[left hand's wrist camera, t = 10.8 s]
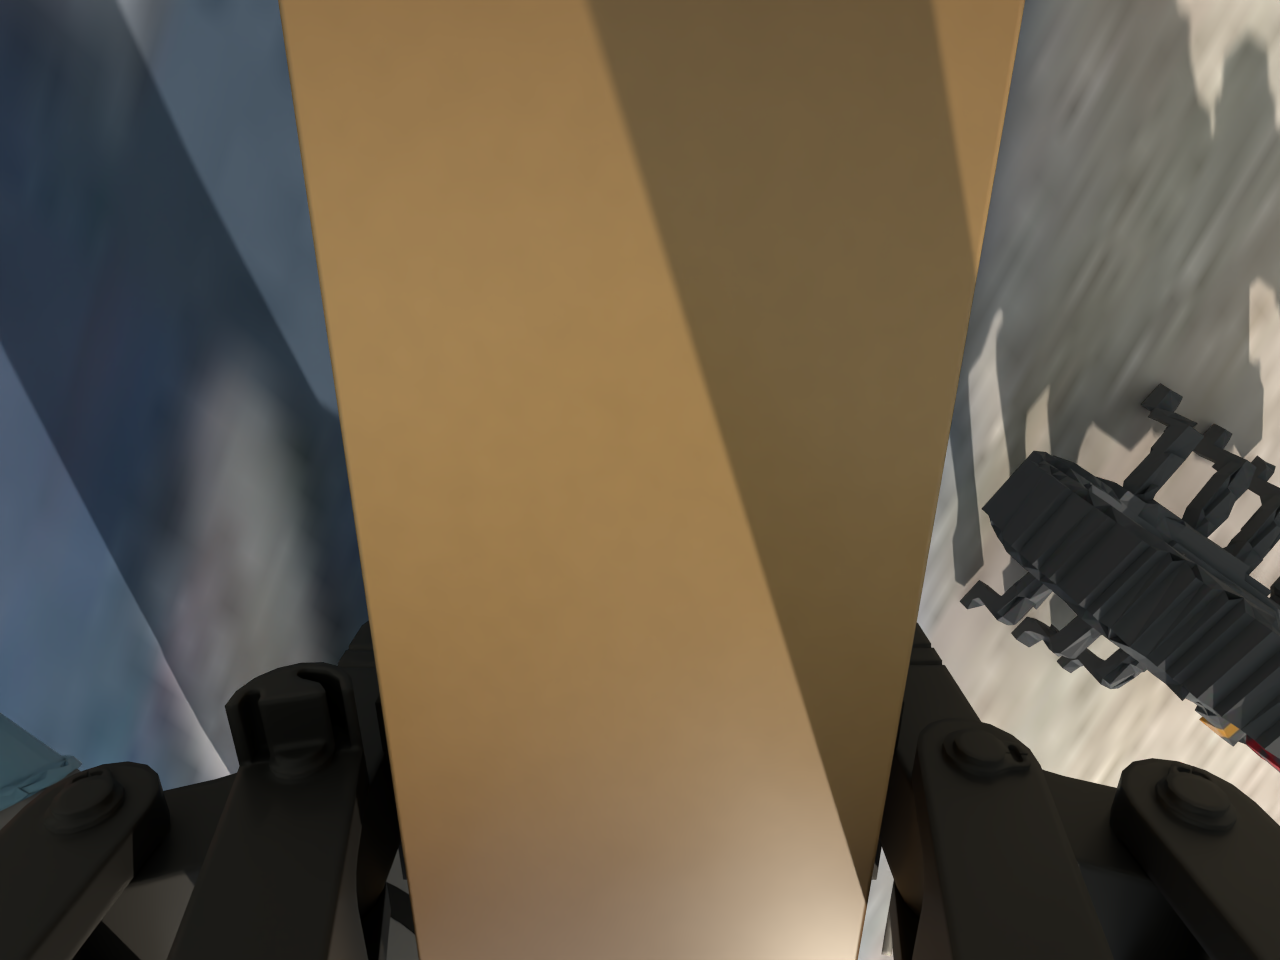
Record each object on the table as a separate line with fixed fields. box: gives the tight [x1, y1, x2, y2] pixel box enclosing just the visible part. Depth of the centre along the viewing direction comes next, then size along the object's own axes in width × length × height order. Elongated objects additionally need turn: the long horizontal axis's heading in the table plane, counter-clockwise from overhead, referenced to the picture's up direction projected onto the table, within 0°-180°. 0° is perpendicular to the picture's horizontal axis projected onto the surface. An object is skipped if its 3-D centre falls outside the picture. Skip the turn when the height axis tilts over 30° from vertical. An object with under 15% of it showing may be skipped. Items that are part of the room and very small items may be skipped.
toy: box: [960, 383, 1280, 772], centre depth 27 cm, size 13×27×18 cm, turn 57°
